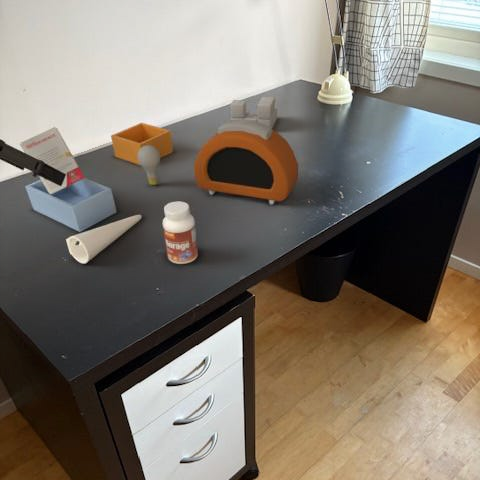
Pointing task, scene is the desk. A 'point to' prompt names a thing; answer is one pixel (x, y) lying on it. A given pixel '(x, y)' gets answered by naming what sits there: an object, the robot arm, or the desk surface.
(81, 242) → the long cone
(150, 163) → the light bulb
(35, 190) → the blue bin
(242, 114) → the gray notched block
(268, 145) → the alarm clock
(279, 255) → the desk surface
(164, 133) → the amber bin
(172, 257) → the pill bottle
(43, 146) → the ink box
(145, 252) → the desk surface
